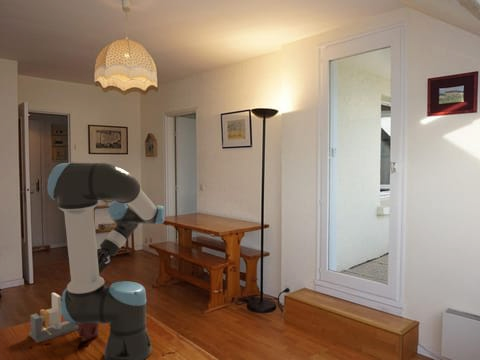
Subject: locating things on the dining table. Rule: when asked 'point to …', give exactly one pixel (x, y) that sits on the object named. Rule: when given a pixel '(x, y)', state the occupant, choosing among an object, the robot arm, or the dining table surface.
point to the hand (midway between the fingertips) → (73, 292)
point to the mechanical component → (88, 330)
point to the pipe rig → (48, 329)
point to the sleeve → (55, 311)
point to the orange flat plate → (46, 314)
